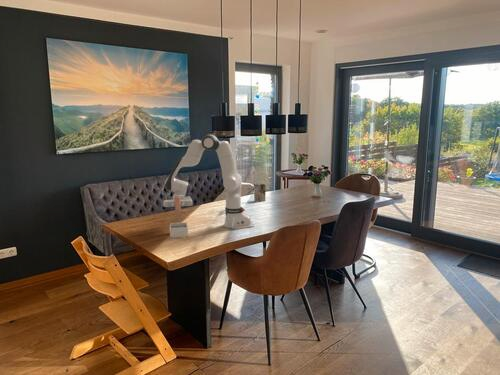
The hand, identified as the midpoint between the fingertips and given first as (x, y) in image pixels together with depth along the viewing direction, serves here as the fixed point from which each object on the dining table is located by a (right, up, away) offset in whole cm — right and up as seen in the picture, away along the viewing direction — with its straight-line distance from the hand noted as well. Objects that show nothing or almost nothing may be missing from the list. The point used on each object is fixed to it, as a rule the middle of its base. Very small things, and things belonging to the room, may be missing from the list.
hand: (177, 205), depth 262 cm
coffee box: (+59, -1, +103) cm, 119 cm away
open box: (0, -21, +4) cm, 21 cm away
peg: (0, -8, +2) cm, 8 cm away
